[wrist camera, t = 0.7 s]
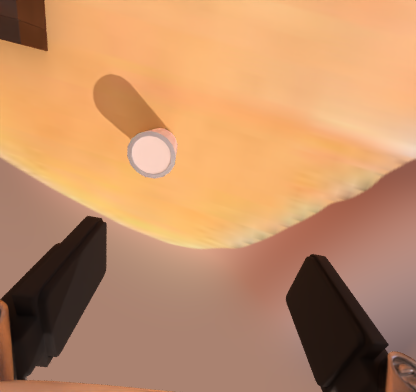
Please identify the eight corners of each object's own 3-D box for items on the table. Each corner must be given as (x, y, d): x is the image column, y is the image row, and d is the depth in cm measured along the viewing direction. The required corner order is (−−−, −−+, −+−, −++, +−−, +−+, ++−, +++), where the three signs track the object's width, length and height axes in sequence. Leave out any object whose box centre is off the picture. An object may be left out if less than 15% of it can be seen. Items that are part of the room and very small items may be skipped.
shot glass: (179, 123, 35) (173, 130, 29) (182, 164, 38) (177, 178, 32) (137, 124, 35) (122, 131, 29) (143, 164, 38) (131, 179, 32)
